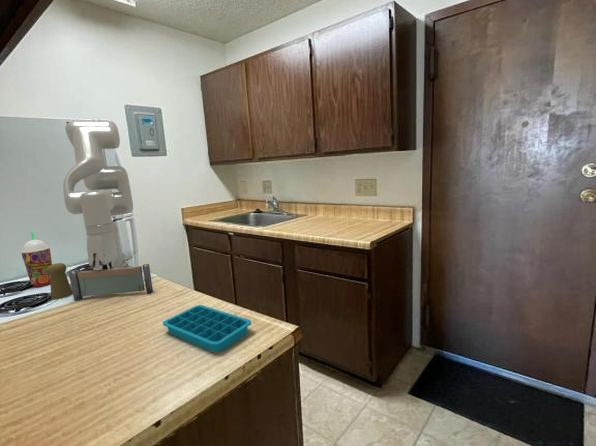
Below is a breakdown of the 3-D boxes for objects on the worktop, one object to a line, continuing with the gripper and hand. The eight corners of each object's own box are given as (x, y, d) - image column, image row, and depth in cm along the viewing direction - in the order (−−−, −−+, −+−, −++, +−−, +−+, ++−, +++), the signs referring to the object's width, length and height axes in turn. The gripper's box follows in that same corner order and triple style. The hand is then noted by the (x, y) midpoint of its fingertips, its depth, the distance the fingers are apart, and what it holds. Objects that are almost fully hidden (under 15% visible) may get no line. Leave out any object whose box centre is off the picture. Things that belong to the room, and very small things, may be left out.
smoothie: (32, 290, 113) (20, 235, 109) (26, 286, 118) (14, 233, 114) (60, 282, 119) (49, 230, 116) (53, 278, 124) (42, 229, 121)
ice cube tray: (200, 314, 87) (199, 304, 86) (254, 332, 76) (253, 321, 75) (161, 334, 78) (160, 322, 77) (217, 358, 66) (215, 345, 66)
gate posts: (76, 298, 103) (71, 270, 101) (154, 290, 105) (150, 263, 103) (72, 301, 101) (66, 272, 99) (151, 293, 103) (147, 265, 101)
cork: (77, 291, 109) (71, 261, 107) (62, 299, 103) (56, 266, 101) (61, 292, 109) (55, 261, 107) (46, 299, 103) (39, 267, 101)
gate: (81, 296, 101) (77, 273, 100) (84, 294, 103) (80, 271, 101) (143, 291, 103) (139, 267, 101) (145, 289, 104) (141, 266, 103)
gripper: (99, 226, 110) (108, 276, 113) (74, 235, 95) (85, 292, 98) (121, 224, 110) (130, 274, 114) (100, 233, 96) (110, 290, 99)
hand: (109, 282), depth 106 cm, fingers closed
